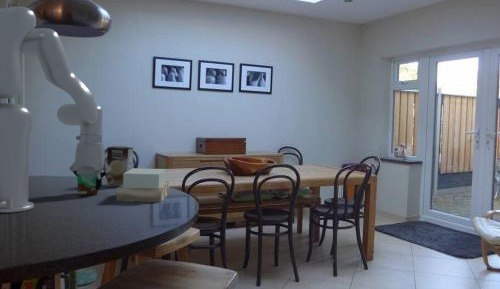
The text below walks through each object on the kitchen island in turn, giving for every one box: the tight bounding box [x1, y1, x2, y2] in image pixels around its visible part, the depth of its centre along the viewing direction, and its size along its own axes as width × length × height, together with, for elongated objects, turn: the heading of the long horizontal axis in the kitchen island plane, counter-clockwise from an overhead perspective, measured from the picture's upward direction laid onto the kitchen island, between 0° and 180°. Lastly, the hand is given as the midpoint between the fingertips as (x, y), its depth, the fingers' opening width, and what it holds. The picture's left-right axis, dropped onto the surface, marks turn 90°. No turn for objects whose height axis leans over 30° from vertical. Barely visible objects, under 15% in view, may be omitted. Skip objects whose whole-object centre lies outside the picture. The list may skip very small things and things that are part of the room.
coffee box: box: [106, 146, 134, 187], centre depth 183 cm, size 9×6×16 cm
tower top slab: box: [123, 167, 166, 189], centre depth 158 cm, size 16×12×5 cm
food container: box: [76, 168, 102, 197], centre depth 160 cm, size 12×6×10 cm, turn 178°
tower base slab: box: [116, 181, 169, 203], centre depth 159 cm, size 17×15×5 cm
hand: (90, 188), depth 161 cm, fingers closed on food container, 5 cm apart
